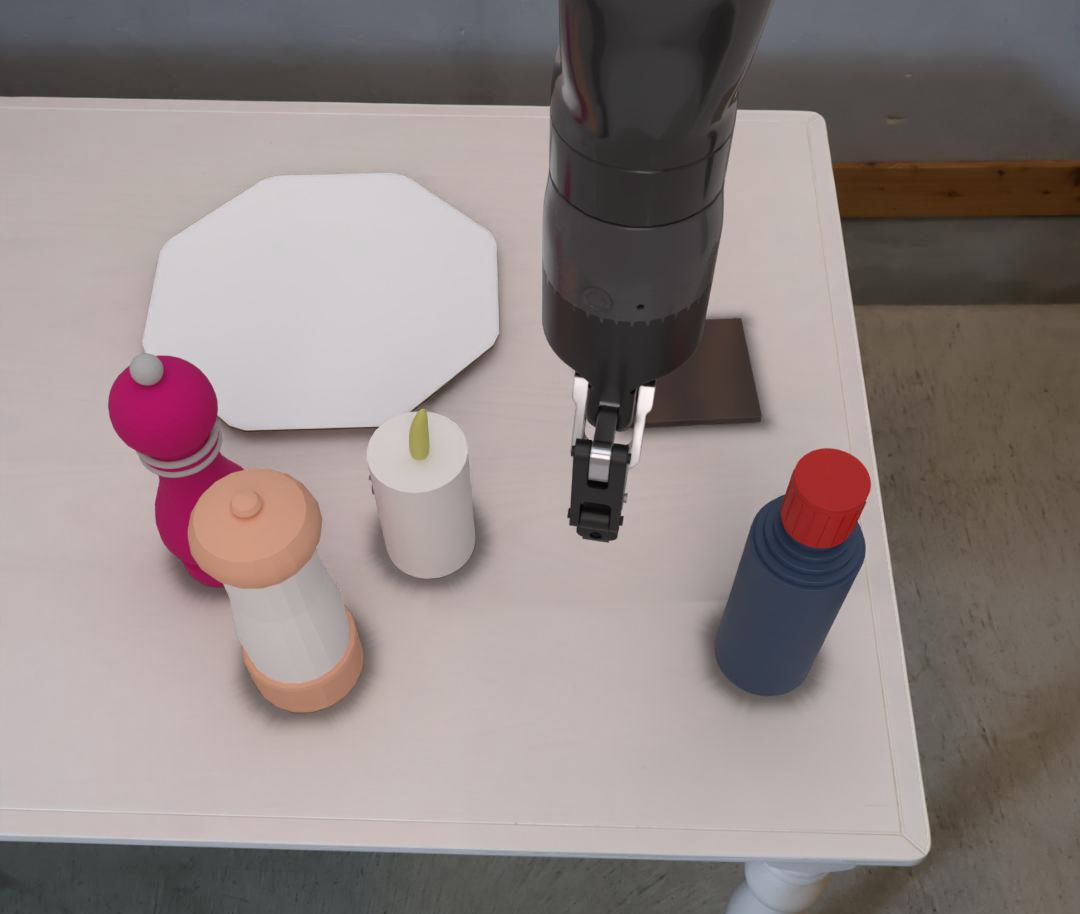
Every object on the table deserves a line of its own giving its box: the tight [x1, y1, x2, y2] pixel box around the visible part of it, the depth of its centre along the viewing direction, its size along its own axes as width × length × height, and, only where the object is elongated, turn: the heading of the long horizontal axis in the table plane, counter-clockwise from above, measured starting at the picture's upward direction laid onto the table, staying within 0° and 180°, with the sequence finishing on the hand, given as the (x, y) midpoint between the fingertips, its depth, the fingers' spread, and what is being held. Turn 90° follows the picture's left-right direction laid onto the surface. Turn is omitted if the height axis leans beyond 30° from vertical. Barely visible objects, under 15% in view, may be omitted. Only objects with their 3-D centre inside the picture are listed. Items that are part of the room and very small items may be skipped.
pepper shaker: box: [188, 468, 365, 713], centre depth 65 cm, size 7×7×19 cm
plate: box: [141, 172, 500, 433], centre depth 89 cm, size 28×28×2 cm
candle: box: [366, 408, 476, 580], centre depth 71 cm, size 6×6×15 cm
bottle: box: [714, 493, 867, 697], centre depth 65 cm, size 6×6×20 cm
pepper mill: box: [107, 352, 245, 588], centre depth 69 cm, size 7×7×20 cm
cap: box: [780, 447, 872, 548], centre depth 58 cm, size 4×4×4 cm
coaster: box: [629, 317, 763, 429], centre depth 86 cm, size 10×10×1 cm
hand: (608, 469), depth 62 cm, fingers open, 8 cm apart
